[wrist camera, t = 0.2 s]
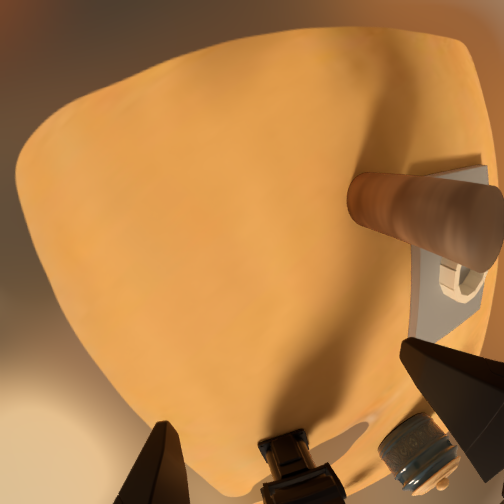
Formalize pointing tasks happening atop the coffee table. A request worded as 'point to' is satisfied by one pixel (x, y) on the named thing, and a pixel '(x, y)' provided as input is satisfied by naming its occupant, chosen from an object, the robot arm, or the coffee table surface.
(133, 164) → the coffee table surface
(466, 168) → the base board
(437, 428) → the canister
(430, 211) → the walnut column
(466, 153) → the coffee table surface
